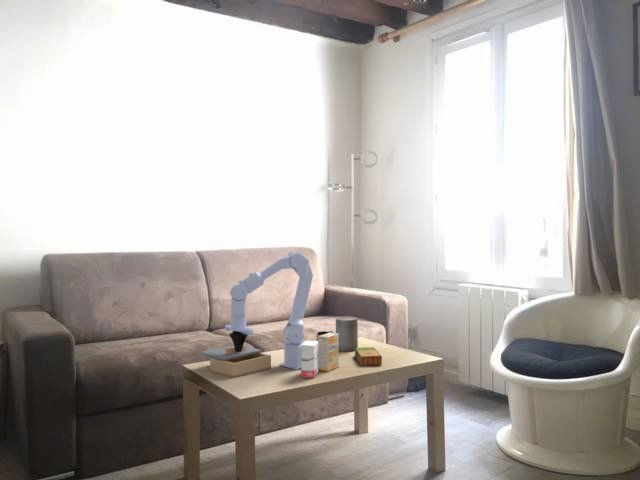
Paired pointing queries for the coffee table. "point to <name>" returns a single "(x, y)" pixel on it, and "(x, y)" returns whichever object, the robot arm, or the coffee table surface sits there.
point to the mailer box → (241, 365)
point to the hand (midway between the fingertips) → (238, 351)
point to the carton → (368, 356)
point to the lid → (230, 352)
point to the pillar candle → (347, 333)
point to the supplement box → (328, 351)
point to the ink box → (309, 359)
